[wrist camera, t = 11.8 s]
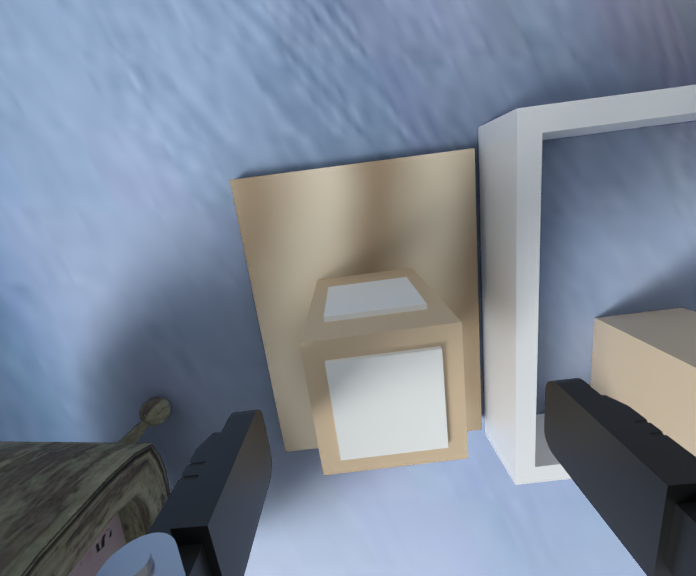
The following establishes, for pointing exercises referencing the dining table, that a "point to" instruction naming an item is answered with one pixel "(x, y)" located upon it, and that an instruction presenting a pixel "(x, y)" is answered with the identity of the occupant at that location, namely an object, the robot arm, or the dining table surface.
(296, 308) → the board
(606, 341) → the plain box
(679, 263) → the dining table surface
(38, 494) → the tabletop clock
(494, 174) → the bin
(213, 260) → the dining table surface
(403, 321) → the labelled box
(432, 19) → the dining table surface
